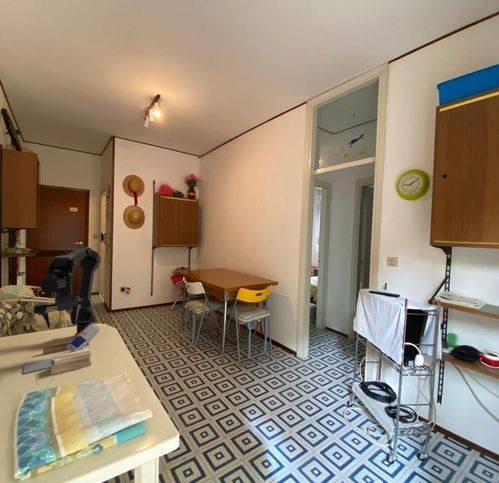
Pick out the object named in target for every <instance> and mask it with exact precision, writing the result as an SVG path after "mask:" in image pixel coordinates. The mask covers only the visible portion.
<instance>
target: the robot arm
mask: <svg viewBox="0 0 499 483" xmlns="http://www.w3.org/2000/svg"><path fill="white" fill-rule="evenodd" d="M101 261H102V258H101V255H100V254H99V253H98V252H97V251H95V250H93V249H92V248H91V247H90V246H79V247H77V248H76V249H75V250H73V251H72V252H70V253H68V254H64V255H57V256H55V257H54V258H52V260H51V262H50V265H49V267H48V270H47V272H46V278H45V279H43V280H42V282H41V283H40V290H41V291H42V292H43V293H44V294H47V295H51V294H52V295H53V294H54V303H48V302H47V301H44V302H43V301H41V302H35V303H34V304H33V314H35V315H36V314H38V316H41V317H42V318H43V319H44V321H45V323H46V326H47V328H48V329H51V328H50V327H51V324H50V317H49V310H52V309H56V310H57V312H62V311H70V310H71V312H70V322H71V325H76V333H74V338H75V337H76V336H77V335H78V334H79V333H80V332H81V331H82V330H83V329H84V328H85V327H86V326H87V325H88V324H89V323H91V322H92V323H94V324H96V320H97V319H96V318H97V317H96V314H95V312H94V310H93V309H94V308H93V306H92V300H91V296H92V295H91V294H92V290H93V284H94V283H93V282H94V275H95V272H96V271H97V269H99V267H100V263H101ZM78 263H79V266H80V267H81V270H82V274H81V275H82V276H81V281H80V286H79V287H80V288H79V294H78V295H73V275H74V274H75V272H74V271H75V269H76V268H77V265H78Z"/></svg>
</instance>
